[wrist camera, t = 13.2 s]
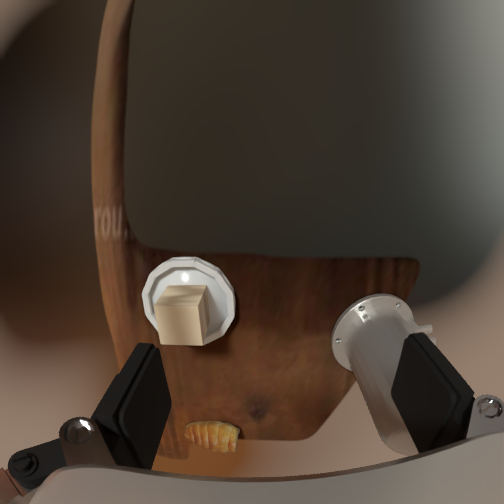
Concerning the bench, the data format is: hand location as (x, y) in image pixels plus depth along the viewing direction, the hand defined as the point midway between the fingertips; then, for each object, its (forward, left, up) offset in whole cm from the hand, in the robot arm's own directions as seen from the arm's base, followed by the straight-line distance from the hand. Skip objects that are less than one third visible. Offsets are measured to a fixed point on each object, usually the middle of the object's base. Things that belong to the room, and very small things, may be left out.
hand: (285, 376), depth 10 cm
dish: (+10, +9, -26) cm, 30 cm away
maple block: (+10, +9, -26) cm, 29 cm away
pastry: (+9, +35, -27) cm, 45 cm away
